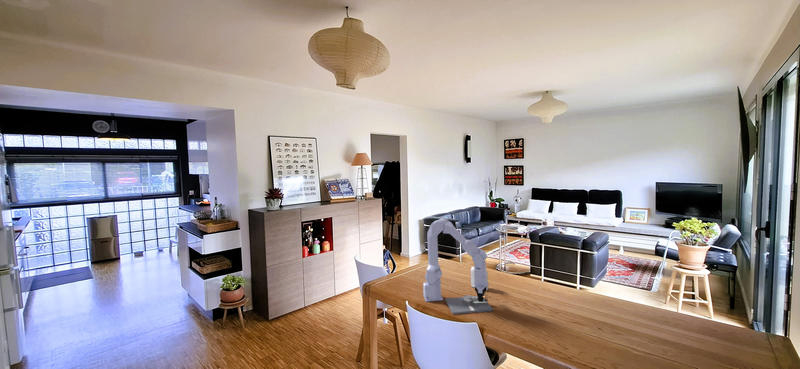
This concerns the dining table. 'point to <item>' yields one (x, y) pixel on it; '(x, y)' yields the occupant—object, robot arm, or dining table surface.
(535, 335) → the dining table surface
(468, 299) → the lever with ball knob
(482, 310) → the lock plate
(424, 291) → the robot arm
